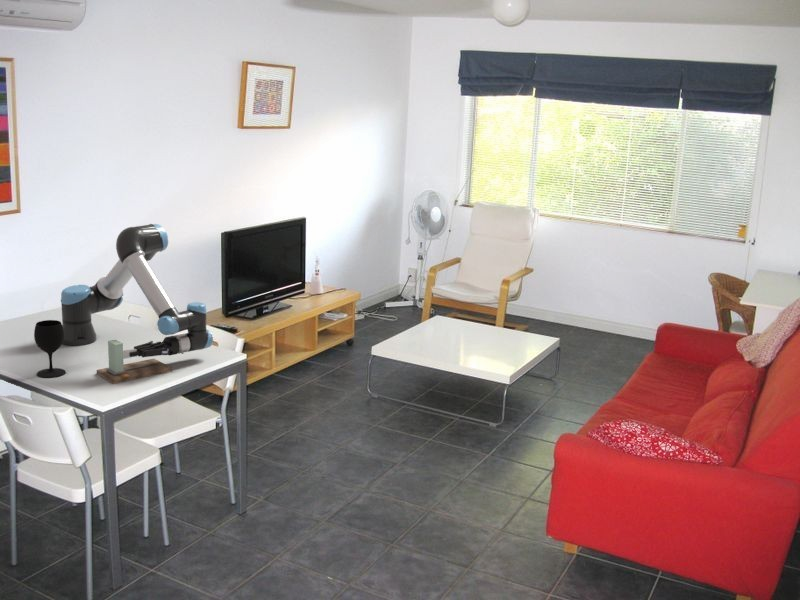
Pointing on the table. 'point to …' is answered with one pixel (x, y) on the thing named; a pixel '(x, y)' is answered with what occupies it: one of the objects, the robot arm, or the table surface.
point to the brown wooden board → (136, 371)
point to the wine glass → (49, 344)
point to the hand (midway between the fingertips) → (120, 355)
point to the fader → (115, 357)
